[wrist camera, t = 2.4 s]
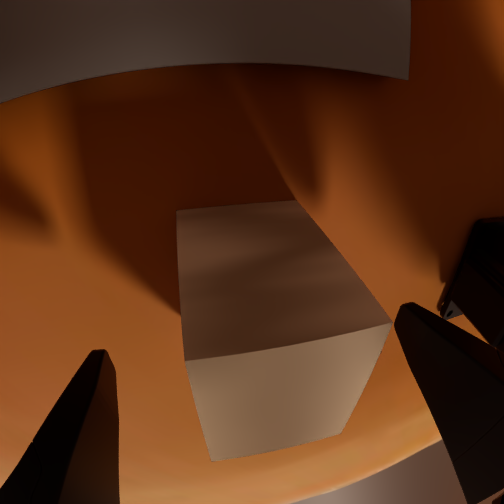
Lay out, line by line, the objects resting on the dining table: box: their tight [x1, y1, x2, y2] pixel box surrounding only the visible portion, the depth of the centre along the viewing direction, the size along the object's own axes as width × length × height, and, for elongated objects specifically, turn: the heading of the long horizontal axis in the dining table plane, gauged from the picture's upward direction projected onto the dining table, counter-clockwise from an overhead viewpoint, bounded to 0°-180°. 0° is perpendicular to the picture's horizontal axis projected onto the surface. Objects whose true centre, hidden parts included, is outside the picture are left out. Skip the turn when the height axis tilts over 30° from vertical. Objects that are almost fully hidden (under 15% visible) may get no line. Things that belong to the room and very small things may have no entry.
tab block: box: [176, 200, 393, 461], centre depth 9 cm, size 4×5×6 cm
